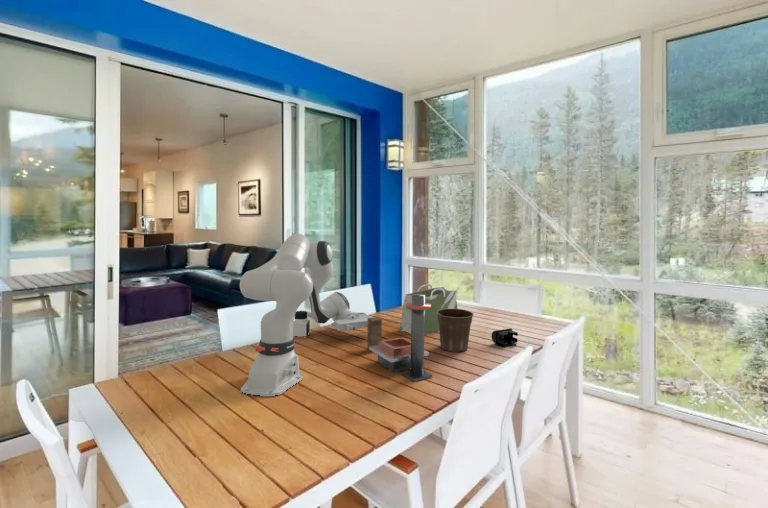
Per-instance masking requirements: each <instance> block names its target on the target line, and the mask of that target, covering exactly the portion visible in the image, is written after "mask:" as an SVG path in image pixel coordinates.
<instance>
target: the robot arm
mask: <svg viewBox="0 0 768 508" xmlns="http://www.w3.org/2000/svg"><path fill="white" fill-rule="evenodd" d="M333 253H334V252H333V248H332V245H331V244H330V243H329V242H328V241H326V240H319V241H310V240H309V238H308V237H307V236H306V235H304V234H302V233H294V234H291V235H290V236H288V237H287V238H286V239H285V240H284V242H283V243H282V244H281V246H280V247H279V248H278V251H277V252H276V253H275V255H274V256H273V257H272V258H271V259H270V260H269V261H267V262H266V263H264V264H261V266H259V267H257V268H254V269H251V270H247V271H246V272H244V274H243V275H241V278H240V280H239V289H240V292H241V294H242V296H243V297H244V298H247V299H251V300H254V301H261V302H262V301H264V302H265V301H266V302H267V301H268V302H276V304H275V308H274V309H272V310H270V311H268V312H267V313H264V315H263V316H262V317H261V320H260V340H259V343H258V345H256V346H255V348H254V351H255V352H256V353H257V352H258V353H257V356H256V357H255V359H254V362H253V363H252V365H251V367H250V369H249V371H248V375H247V376H248V377H247V378H248V379H247V380H246V382H245V383H244V384H243V386H241V388H240V393H242V392H243V393H242V394H244V393H246V394H245V395H247V394H251V395H250V396H253V395H260V396H259V397H276V396H275V395H278V396H281V395H282V394H283V393H285V392H287V391H288V390H290V389H291V388H292V386H293V385H294V386H295V384H296V383H297V384H298V382H299V381H300V382H301V380H302V379H303V380H304V377H303V376H302V375H301V374H300V363H299V356H298V354H296V352H295V347H296V346H295V343H296V342H295V337H293V323H294V321H295V313H296V311H298V310H299V307H300V306H301V305H302V304H303V303H304V302H305V301H307V300H308V299H309V304H310V312H311V316H312V318H313V320H314V321H315V322H316V323H317V324H326V323H327V322H328V321H330V319H332V321H333V322H331V326H333V327H334V329H335V330H336V331H337V332H342V331H343V332H344V331H349V332H350V331H356V330H357V329H358V330H359V329H365V328H368V318H373V316H371V315H368V314H367V313H366V312H355V311H351V310H350V302H349V300H348V298H347V297H346V296H345V294H343V293H341V292H339V291H335V292H333V293H331V294H330V295H328V296H327V297H326V298H324V299H323V300H321V297H320V294H321V293H320V292H321V291H322V289H323V288H324V287H325V285H327V283H328V282H329V281H330V280H331V278H332V277H333V275H334V272H335V271H334V270H335V269H334V265H333V255H334V254H333ZM306 268H308V270H309V271H308V272H309V273H308V272H303V271H302V269H306ZM303 380H302V381H303ZM300 382H299V383H300ZM297 384H296V385H297ZM294 386H293V387H294ZM290 387H291V388H290ZM289 388H290V389H289ZM287 389H288V390H287ZM286 390H287V391H286Z"/></svg>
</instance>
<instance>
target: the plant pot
mask: <svg viewBox="0 0 768 508" xmlns="http://www.w3.org/2000/svg"><path fill="white" fill-rule="evenodd" d="M437 314H438V322H439V331H440V332H439V343H440V344H439V345H440V348H441V349H443V350H444V351H446V350H447V352H450V351H452V353H460V352H461V351H462V352H466V351H467V350H468V349H469V340H470V339H469V338H470V332H471V325H472V322H473V318H474V317H473V316H474V312H472V311H470V310H466V309H462V308H461V309H460V308H458V309H442V310H438V311H437Z"/></svg>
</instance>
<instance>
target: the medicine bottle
mask: <svg viewBox="0 0 768 508" xmlns="http://www.w3.org/2000/svg"><path fill="white" fill-rule="evenodd" d="M310 322H311V321H310V319H308V311H306V310H297V311H296V313H295V316H294V323H293V336H307V335H308V333H309V331H310V327H311V325H310ZM309 334H310V333H309ZM308 336H309V335H308ZM308 336H307V337H308Z"/></svg>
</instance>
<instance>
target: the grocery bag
mask: <svg viewBox="0 0 768 508" xmlns="http://www.w3.org/2000/svg"><path fill="white" fill-rule="evenodd" d="M423 287H430V288H428V289H424V290H421V289H422V288H423ZM412 294H424V295H425V303H429V304H431V309H429V310H425V327H424V335H427V334H426V333H428V334H433V333H432V332H435V333H439V332H438V331H439V322H438V314H437V311H438V310H442V309H459V308H458V302H457V301H458V299H457V290H450V289H449V290H447V289H446V288H445V287H444V286H441V287H440V286H439V287H434V288H433V286H432V285H431V284H430V283H427V284H423V285H421V286H419V287H418V289H417V291H415V292H411V293H406V294H404V295H405V296H404V299H403V303H402V311H401V320H400V325H399V327H400V328H399V331H400V330H403V331H406V332H408V333H411V312H412V310H410V309H407V308H406V303H409V302H412ZM403 331H402V332H403ZM408 333H407V334H408Z"/></svg>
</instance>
